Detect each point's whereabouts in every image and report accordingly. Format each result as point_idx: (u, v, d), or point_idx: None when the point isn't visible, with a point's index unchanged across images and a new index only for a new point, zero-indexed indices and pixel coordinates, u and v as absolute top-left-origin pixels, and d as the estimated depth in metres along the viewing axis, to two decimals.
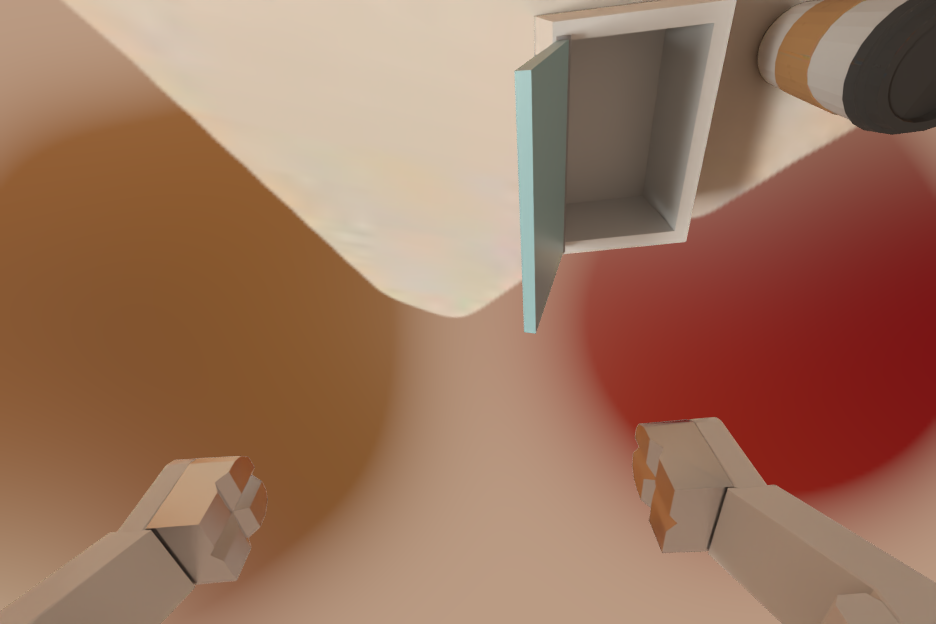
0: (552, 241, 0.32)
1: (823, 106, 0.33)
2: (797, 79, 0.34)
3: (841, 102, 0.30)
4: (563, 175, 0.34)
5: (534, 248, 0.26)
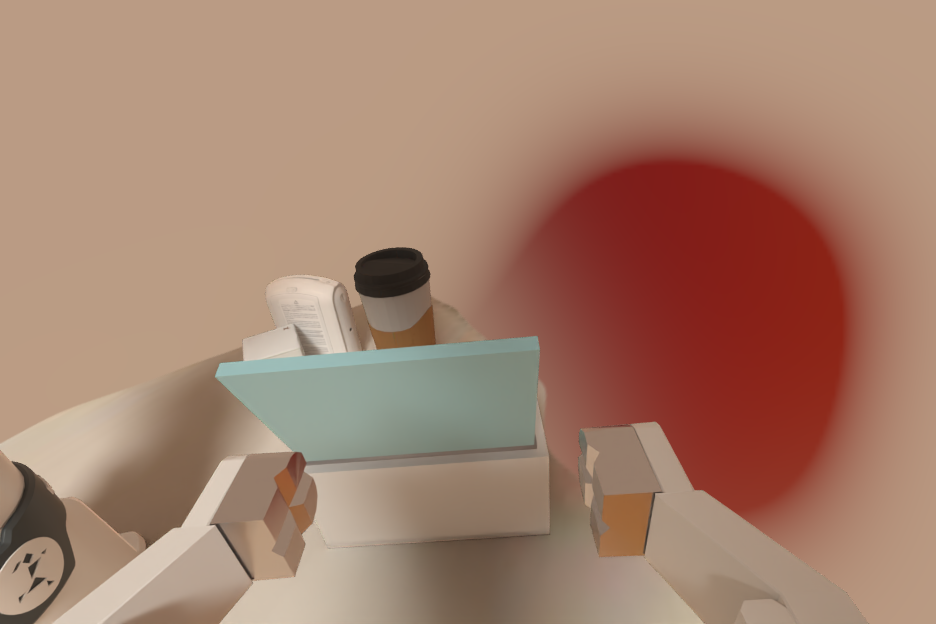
0: None
1: (422, 314, 0.48)
2: (409, 337, 0.48)
3: (408, 296, 0.46)
4: None
5: (406, 349, 0.22)
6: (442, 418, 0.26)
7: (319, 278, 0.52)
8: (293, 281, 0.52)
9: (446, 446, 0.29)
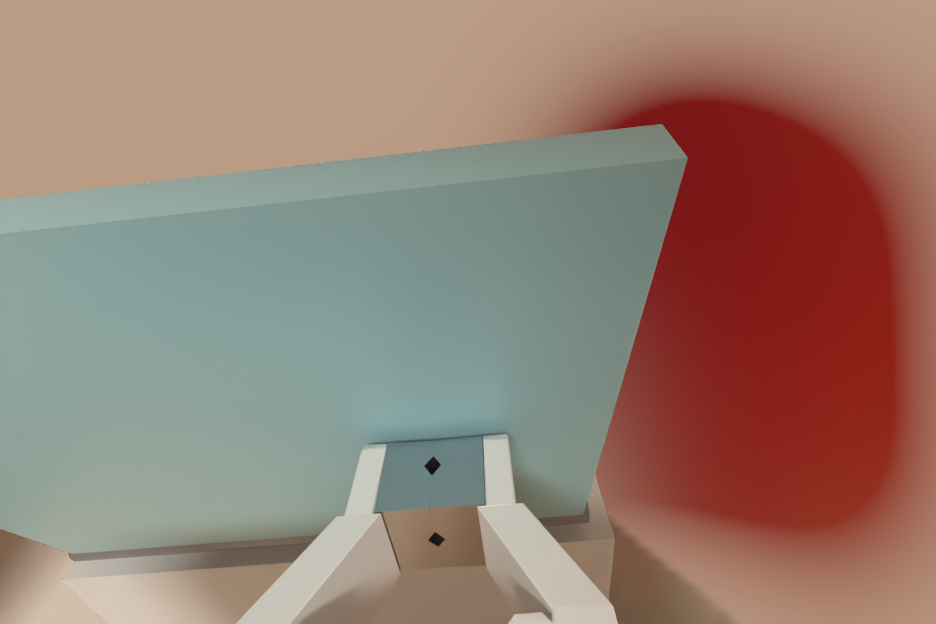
0: None
1: None
2: None
3: None
4: None
5: None
6: (351, 460, 0.10)
7: None
8: None
9: None
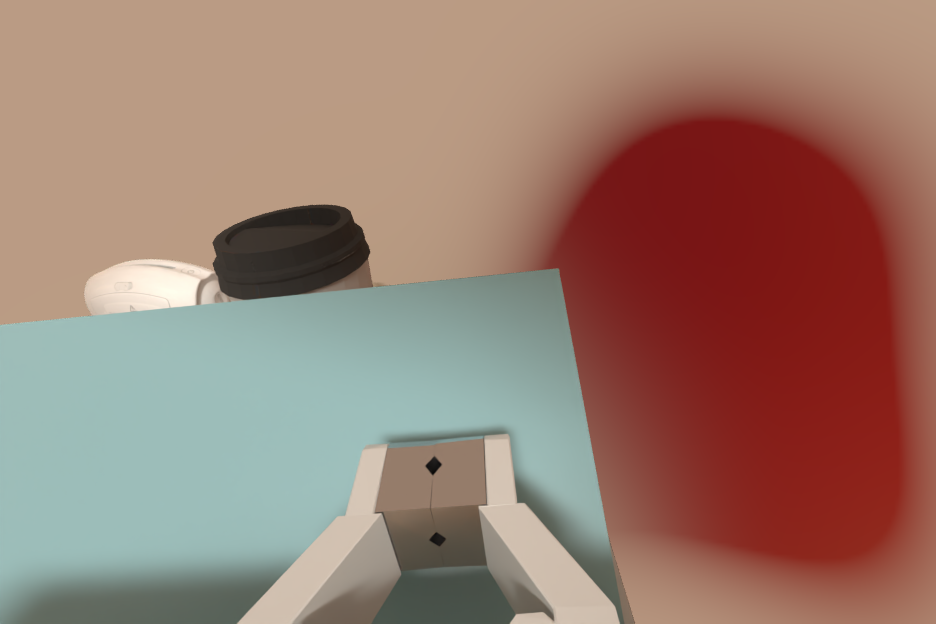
0: None
1: None
2: None
3: None
4: None
5: None
6: None
7: (176, 265, 0.29)
8: (127, 271, 0.29)
9: None
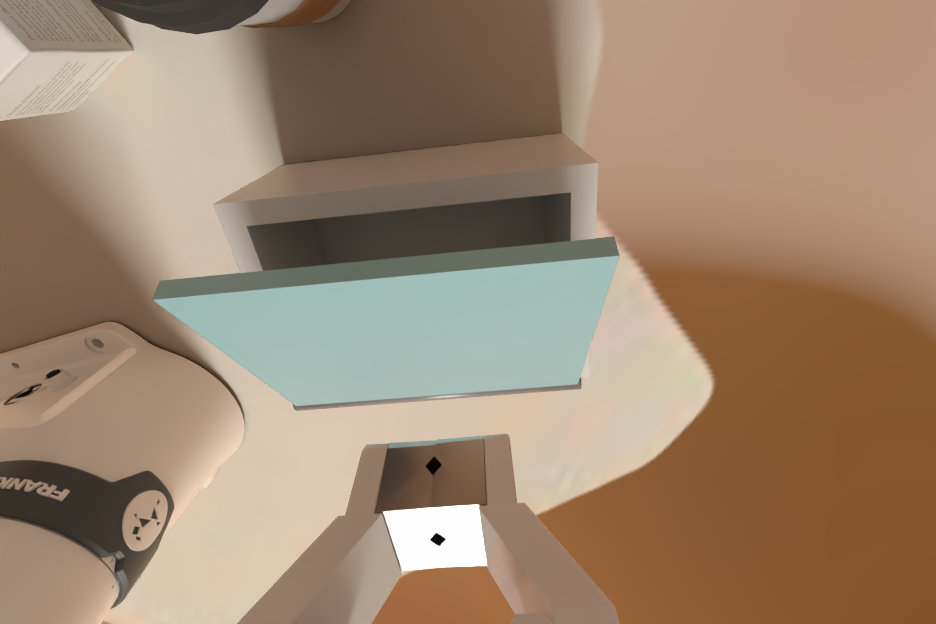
0: None
1: None
2: (302, 15, 0.18)
3: None
4: None
5: None
6: (468, 354, 0.20)
7: None
8: None
9: (469, 387, 0.24)
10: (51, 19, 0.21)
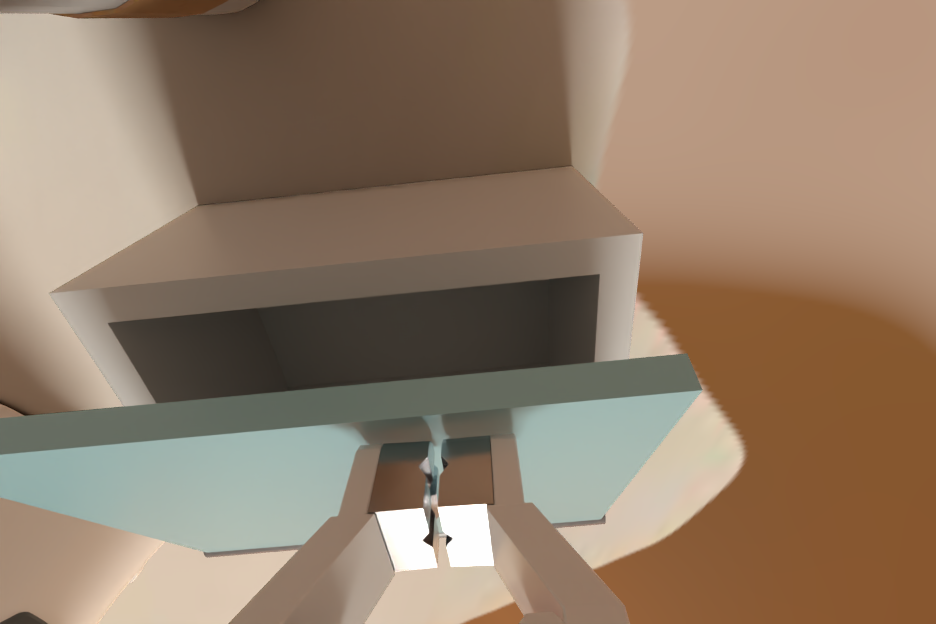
0: None
1: None
2: None
3: None
4: None
5: (364, 387, 0.09)
6: None
7: None
8: None
9: None
10: None
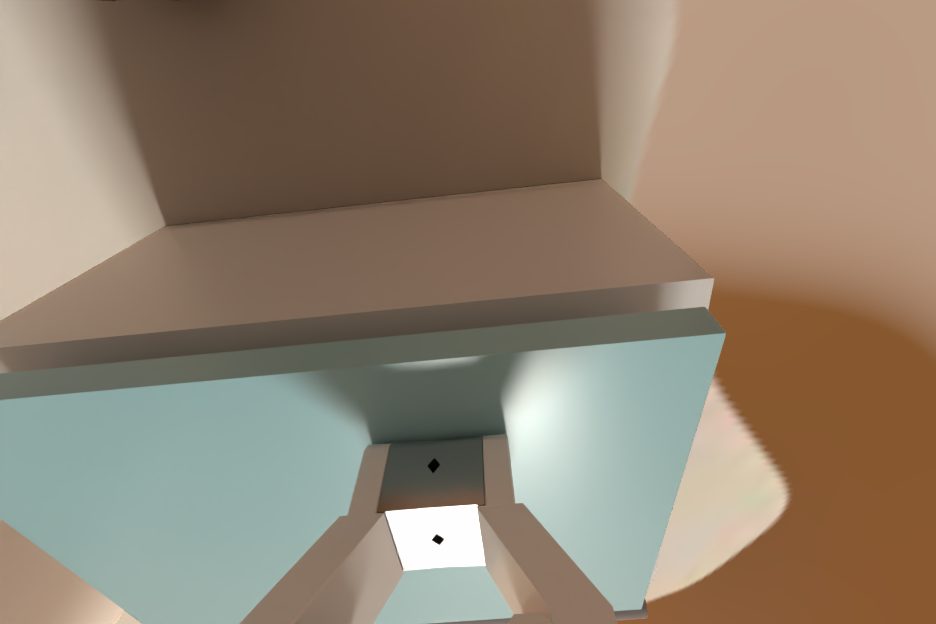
0: None
1: None
2: None
3: None
4: None
5: None
6: None
7: None
8: None
9: (457, 611, 0.14)
10: None
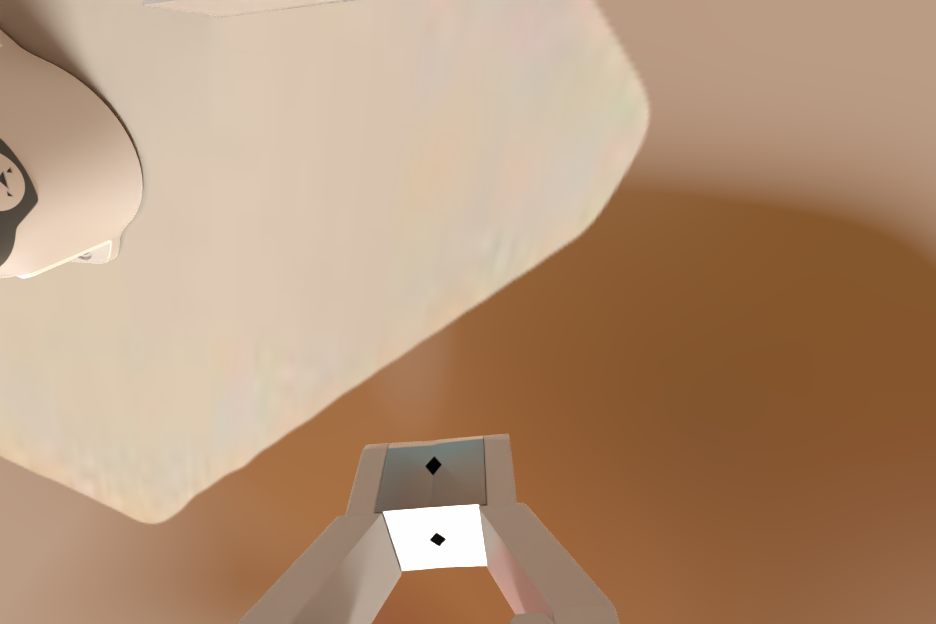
0: None
1: None
2: None
3: None
4: None
5: None
6: None
7: None
8: None
9: None
10: None
